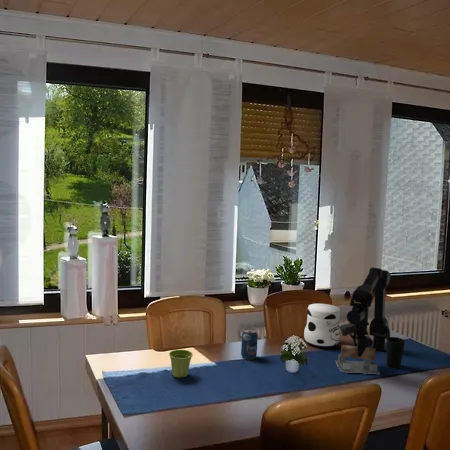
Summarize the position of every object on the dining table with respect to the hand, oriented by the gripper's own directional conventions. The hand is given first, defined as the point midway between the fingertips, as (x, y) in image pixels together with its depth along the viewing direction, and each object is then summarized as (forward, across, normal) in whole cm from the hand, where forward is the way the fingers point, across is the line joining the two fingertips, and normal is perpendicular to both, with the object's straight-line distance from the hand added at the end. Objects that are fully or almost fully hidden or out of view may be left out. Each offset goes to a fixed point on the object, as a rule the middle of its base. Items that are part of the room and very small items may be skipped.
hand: (358, 354), depth 217 cm
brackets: (+6, 0, 0) cm, 6 cm away
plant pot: (+6, +16, -74) cm, 76 cm away
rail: (+1, 0, 0) cm, 1 cm away
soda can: (+6, -7, -46) cm, 47 cm away
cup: (+6, -4, +17) cm, 19 cm away
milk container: (+6, -30, -10) cm, 32 cm away
